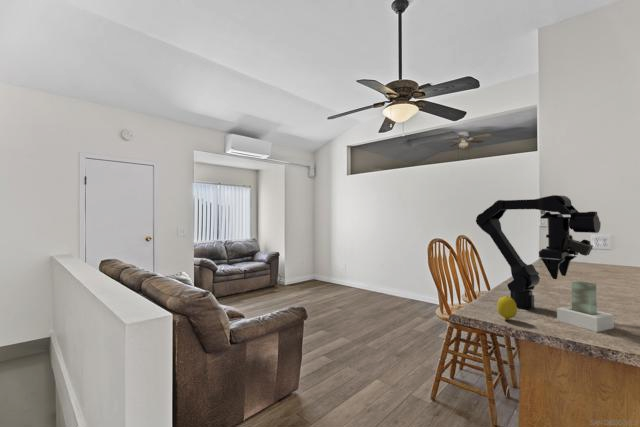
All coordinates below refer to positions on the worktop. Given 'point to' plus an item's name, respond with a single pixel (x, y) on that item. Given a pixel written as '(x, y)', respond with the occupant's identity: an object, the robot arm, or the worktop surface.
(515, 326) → the worktop surface
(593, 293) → the slat
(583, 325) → the white rectangular frame
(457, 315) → the worktop surface
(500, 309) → the lemon
